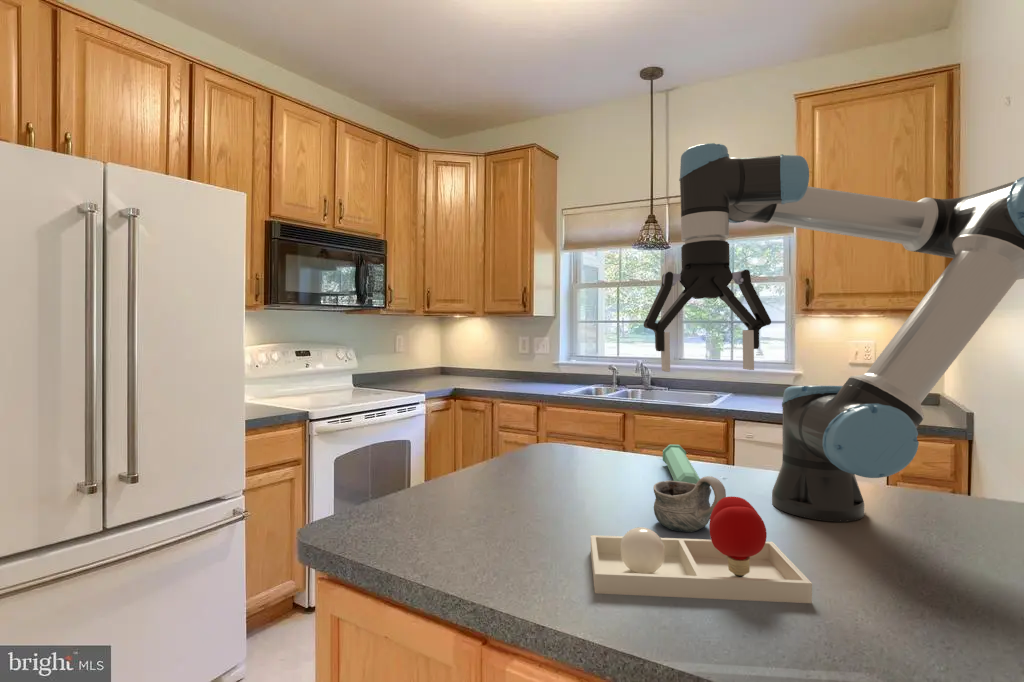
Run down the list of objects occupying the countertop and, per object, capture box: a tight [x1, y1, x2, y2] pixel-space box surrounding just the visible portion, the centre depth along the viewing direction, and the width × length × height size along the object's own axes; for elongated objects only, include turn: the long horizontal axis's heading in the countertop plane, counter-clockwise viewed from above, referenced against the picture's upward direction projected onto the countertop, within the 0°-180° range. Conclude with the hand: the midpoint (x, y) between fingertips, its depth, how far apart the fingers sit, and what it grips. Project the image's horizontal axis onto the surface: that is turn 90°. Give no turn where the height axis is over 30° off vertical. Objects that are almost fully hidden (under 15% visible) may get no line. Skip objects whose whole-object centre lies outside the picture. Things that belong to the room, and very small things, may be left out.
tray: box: [590, 534, 813, 604], centre depth 74 cm, size 26×13×3 cm, turn 84°
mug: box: [652, 475, 727, 533], centre depth 92 cm, size 10×12×10 cm
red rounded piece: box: [708, 495, 768, 577], centre depth 73 cm, size 9×7×10 cm
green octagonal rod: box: [662, 444, 701, 484], centre depth 123 cm, size 6×6×25 cm
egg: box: [620, 526, 665, 574], centre depth 75 cm, size 6×6×6 cm
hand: (707, 370), depth 92 cm, fingers open, 13 cm apart
